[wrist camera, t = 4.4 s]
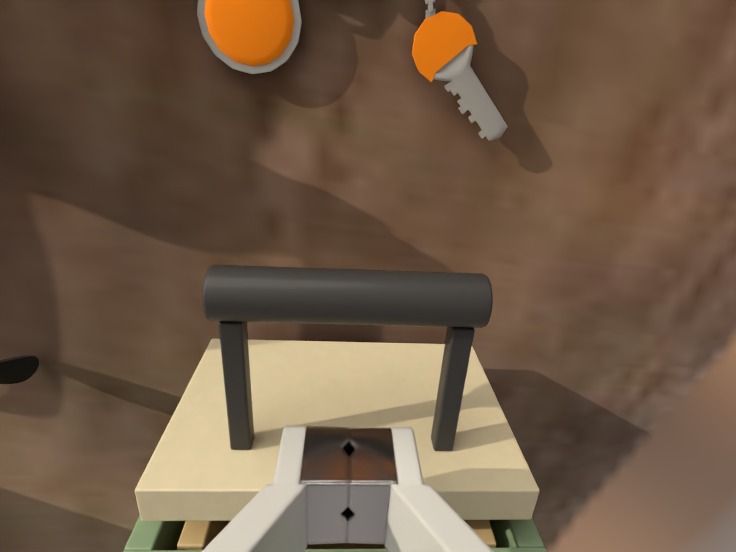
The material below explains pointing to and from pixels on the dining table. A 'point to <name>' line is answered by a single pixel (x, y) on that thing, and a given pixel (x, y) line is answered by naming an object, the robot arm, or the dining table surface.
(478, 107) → the key chain
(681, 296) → the dining table surface
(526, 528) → the cabinet
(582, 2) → the dining table surface
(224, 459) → the drawer
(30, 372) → the sunglasses
